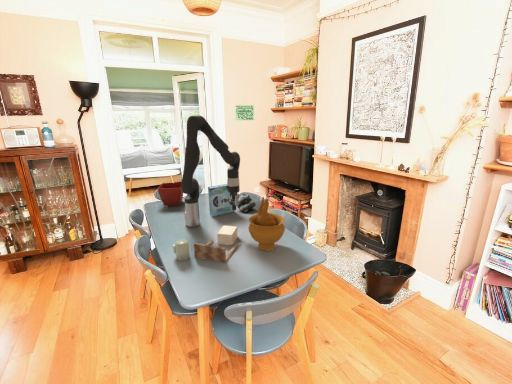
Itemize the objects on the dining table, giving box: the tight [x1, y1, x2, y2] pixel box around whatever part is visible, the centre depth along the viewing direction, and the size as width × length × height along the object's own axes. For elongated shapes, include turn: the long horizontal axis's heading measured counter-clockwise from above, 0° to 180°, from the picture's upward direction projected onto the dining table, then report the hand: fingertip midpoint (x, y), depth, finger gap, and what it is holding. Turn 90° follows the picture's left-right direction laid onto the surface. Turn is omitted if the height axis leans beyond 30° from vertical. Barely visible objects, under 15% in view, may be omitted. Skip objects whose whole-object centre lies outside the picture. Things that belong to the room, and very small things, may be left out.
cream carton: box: [216, 225, 238, 246], centre depth 159 cm, size 9×12×7 cm
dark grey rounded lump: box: [236, 193, 257, 214], centre depth 209 cm, size 15×12×14 cm
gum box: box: [207, 183, 235, 218], centre depth 200 cm, size 20×5×23 cm, turn 123°
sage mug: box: [172, 239, 191, 262], centre depth 140 cm, size 8×7×9 cm
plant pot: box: [157, 182, 184, 207], centre depth 224 cm, size 19×19×17 cm
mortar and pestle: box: [248, 196, 286, 251], centre depth 148 cm, size 21×21×30 cm
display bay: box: [193, 239, 239, 263], centre depth 146 cm, size 18×19×8 cm
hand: (234, 210), depth 166 cm, fingers closed
